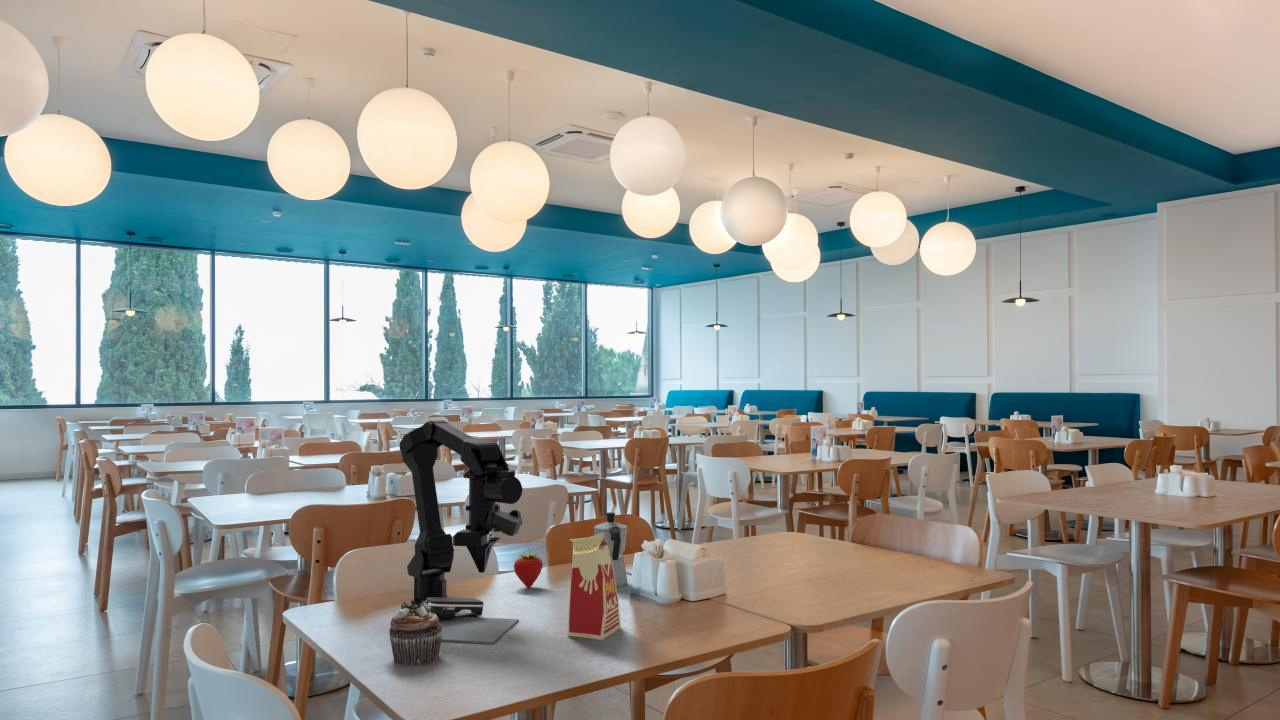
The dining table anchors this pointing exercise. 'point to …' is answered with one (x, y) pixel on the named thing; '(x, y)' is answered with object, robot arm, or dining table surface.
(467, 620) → the mat
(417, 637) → the cupcake
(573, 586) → the milk carton
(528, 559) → the strawberry
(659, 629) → the dining table surface
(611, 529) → the coffee maker
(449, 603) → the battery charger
